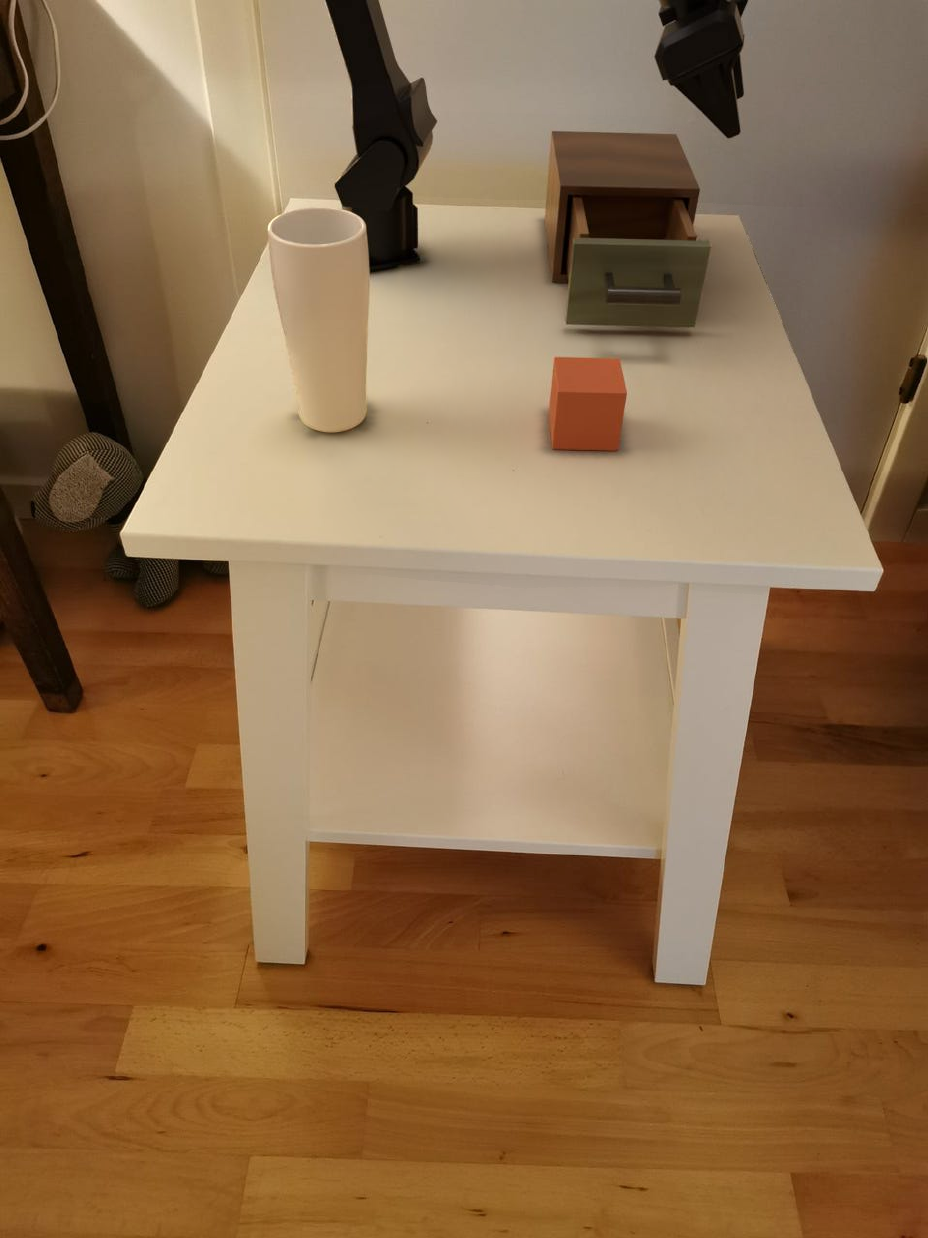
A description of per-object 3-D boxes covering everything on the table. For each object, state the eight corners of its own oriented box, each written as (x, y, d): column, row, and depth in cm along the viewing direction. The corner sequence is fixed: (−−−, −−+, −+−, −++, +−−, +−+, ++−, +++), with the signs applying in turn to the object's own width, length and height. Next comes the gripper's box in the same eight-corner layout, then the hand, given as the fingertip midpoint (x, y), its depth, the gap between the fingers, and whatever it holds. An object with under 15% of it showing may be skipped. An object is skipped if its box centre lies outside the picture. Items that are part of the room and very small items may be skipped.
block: (618, 451, 73) (627, 392, 70) (552, 449, 73) (557, 391, 70) (611, 414, 77) (619, 357, 73) (548, 413, 77) (554, 356, 73)
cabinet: (682, 285, 94) (700, 188, 87) (551, 282, 94) (560, 185, 87) (661, 224, 104) (676, 133, 98) (544, 221, 104) (551, 130, 98)
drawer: (702, 352, 83) (720, 269, 78) (569, 348, 83) (577, 265, 77) (672, 261, 95) (686, 185, 90) (556, 258, 95) (563, 182, 90)
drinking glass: (363, 446, 73) (351, 251, 63) (277, 434, 74) (251, 240, 64) (386, 399, 78) (378, 210, 67) (305, 389, 79) (285, 201, 68)
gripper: (778, -120, 64) (838, 111, 73) (779, -163, 77) (830, 38, 85) (621, -32, 70) (694, 173, 78) (646, -86, 82) (707, 96, 91)
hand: (736, 116), depth 83 cm, fingers open, 9 cm apart
